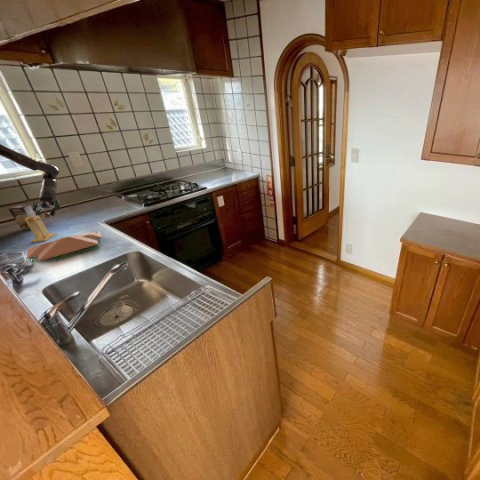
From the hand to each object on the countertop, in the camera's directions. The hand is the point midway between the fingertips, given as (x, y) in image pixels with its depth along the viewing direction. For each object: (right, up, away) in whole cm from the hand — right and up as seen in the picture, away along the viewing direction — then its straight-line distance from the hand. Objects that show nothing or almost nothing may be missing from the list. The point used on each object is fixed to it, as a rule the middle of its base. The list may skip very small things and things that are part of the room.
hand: (45, 216), depth 171 cm
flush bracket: (+2, -14, -3) cm, 15 cm away
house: (+33, -22, -18) cm, 44 cm away
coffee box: (-23, -7, +13) cm, 27 cm away
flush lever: (+1, -3, -3) cm, 4 cm away
